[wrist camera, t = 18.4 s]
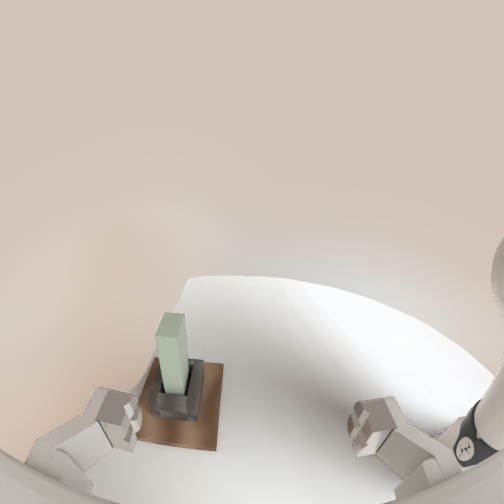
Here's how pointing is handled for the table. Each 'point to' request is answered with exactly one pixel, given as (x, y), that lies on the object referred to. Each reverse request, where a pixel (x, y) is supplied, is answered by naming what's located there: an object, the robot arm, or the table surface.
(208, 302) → the table surface
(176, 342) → the pale green block
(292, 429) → the table surface
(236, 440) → the table surface
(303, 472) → the table surface
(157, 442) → the wooden base with socket
